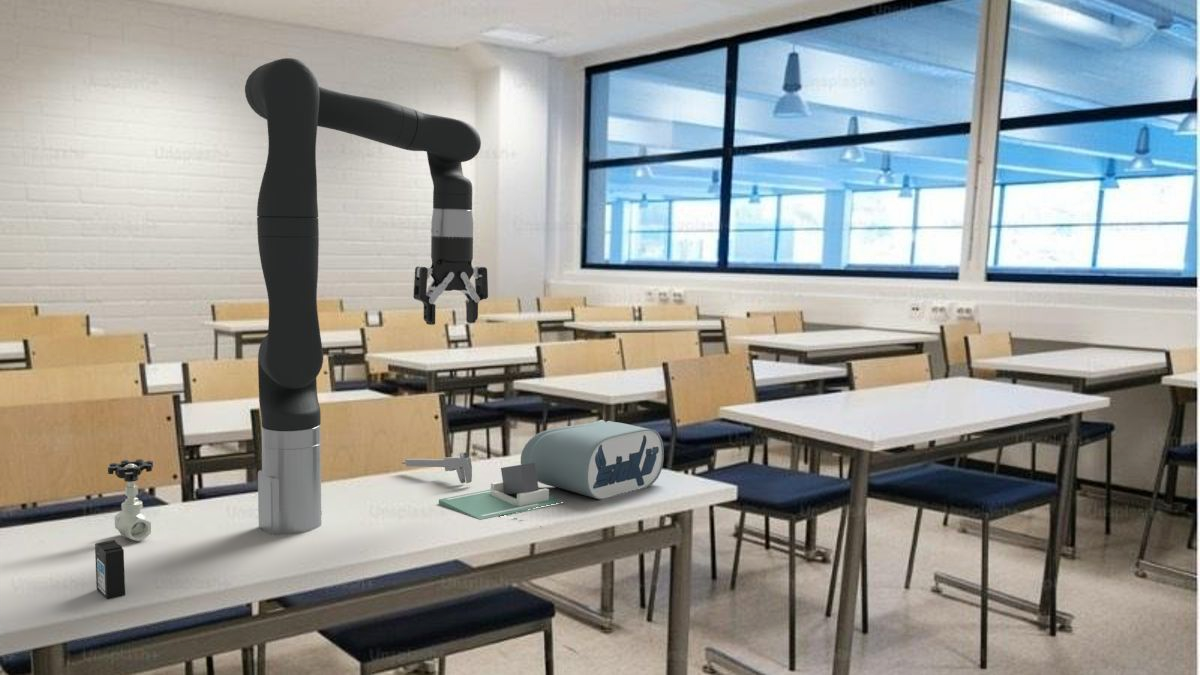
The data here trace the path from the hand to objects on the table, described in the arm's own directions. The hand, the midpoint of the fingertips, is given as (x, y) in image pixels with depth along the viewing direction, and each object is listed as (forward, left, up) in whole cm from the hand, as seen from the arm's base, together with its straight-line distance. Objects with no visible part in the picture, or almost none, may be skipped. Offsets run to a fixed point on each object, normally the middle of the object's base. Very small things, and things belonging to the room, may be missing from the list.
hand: (451, 323), depth 167 cm
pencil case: (+27, -9, -33) cm, 44 cm away
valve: (-52, +10, -33) cm, 63 cm away
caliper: (+5, +15, -34) cm, 37 cm away
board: (+5, -10, -33) cm, 35 cm away
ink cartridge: (-61, -15, -33) cm, 71 cm away
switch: (+9, -13, -27) cm, 32 cm away
